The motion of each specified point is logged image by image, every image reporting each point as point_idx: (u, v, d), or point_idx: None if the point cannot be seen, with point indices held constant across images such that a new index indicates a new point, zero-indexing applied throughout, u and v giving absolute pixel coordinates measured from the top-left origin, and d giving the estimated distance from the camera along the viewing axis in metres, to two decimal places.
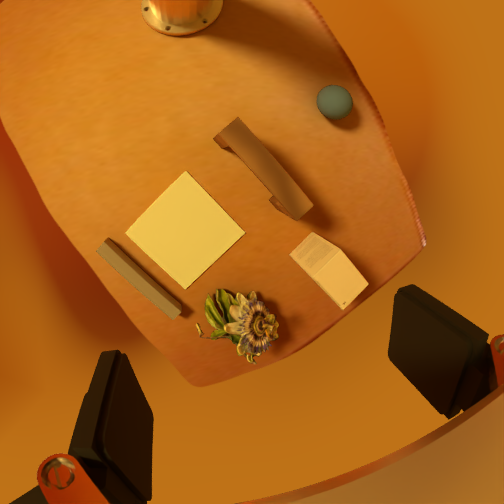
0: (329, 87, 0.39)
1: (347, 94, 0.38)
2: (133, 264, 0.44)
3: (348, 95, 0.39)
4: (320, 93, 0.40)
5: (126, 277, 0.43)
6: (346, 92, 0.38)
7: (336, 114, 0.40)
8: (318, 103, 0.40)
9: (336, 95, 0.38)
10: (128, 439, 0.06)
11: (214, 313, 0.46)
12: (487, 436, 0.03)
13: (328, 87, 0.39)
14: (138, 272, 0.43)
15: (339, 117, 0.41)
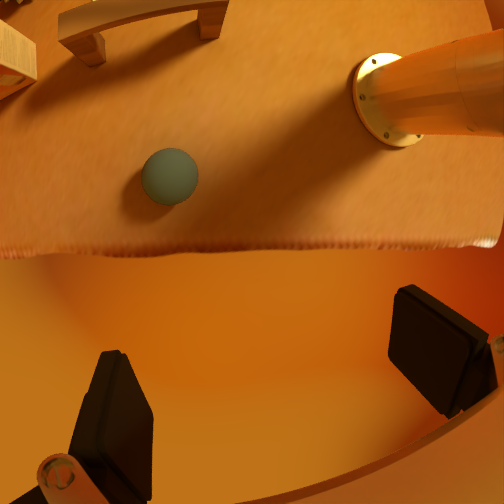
0: (194, 174, 0.27)
1: (171, 193, 0.26)
2: None
3: (169, 194, 0.26)
4: (192, 159, 0.27)
5: None
6: (175, 194, 0.26)
7: (150, 161, 0.26)
8: None
9: (177, 171, 0.25)
10: (128, 439, 0.06)
11: None
12: (487, 436, 0.03)
13: (195, 173, 0.27)
14: None
15: (144, 166, 0.26)
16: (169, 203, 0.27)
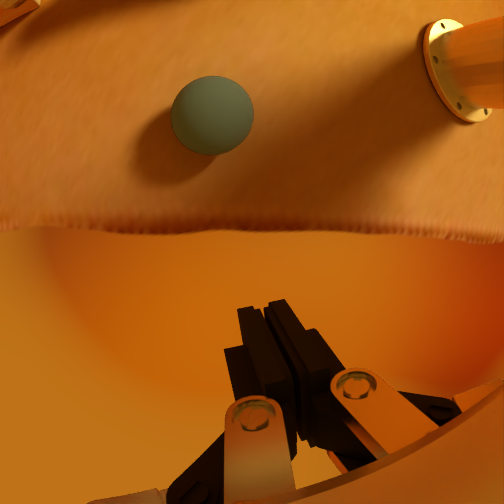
0: (251, 111, 0.18)
1: (219, 132, 0.17)
2: None
3: (215, 133, 0.17)
4: None
5: None
6: (224, 134, 0.17)
7: (187, 87, 0.17)
8: None
9: (230, 101, 0.16)
10: None
11: None
12: (487, 435, 0.03)
13: (252, 111, 0.18)
14: None
15: (177, 96, 0.17)
16: (211, 150, 0.18)
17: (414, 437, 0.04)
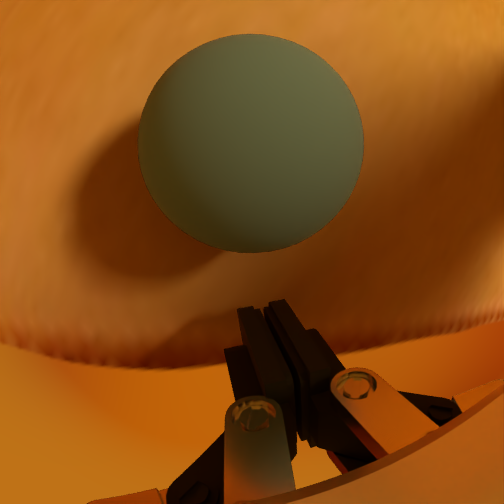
0: (363, 144, 0.06)
1: (288, 211, 0.05)
2: None
3: (277, 215, 0.06)
4: None
5: None
6: (302, 216, 0.06)
7: (187, 59, 0.05)
8: None
9: (329, 110, 0.05)
10: None
11: None
12: (487, 436, 0.03)
13: None
14: None
15: (155, 85, 0.06)
16: (253, 250, 0.07)
17: (414, 436, 0.04)
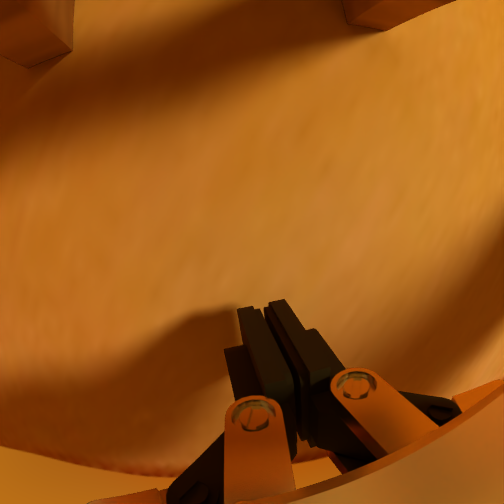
0: None
1: None
2: None
3: None
4: None
5: None
6: None
7: None
8: None
9: None
10: None
11: None
12: (487, 436, 0.03)
13: None
14: None
15: None
16: None
17: (414, 436, 0.04)
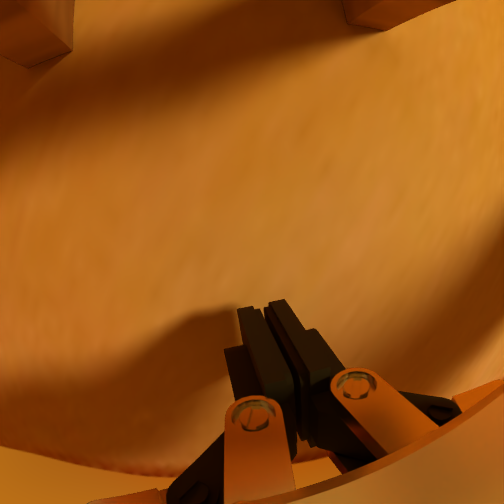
0: None
1: None
2: None
3: None
4: None
5: None
6: None
7: None
8: None
9: None
10: None
11: None
12: (487, 436, 0.03)
13: None
14: None
15: None
16: None
17: (414, 436, 0.04)
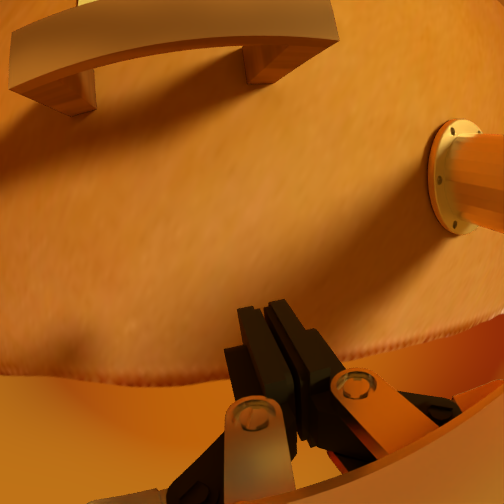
0: None
1: None
2: None
3: None
4: None
5: None
6: None
7: None
8: None
9: None
10: None
11: None
12: (487, 436, 0.03)
13: None
14: None
15: None
16: None
17: (414, 436, 0.04)
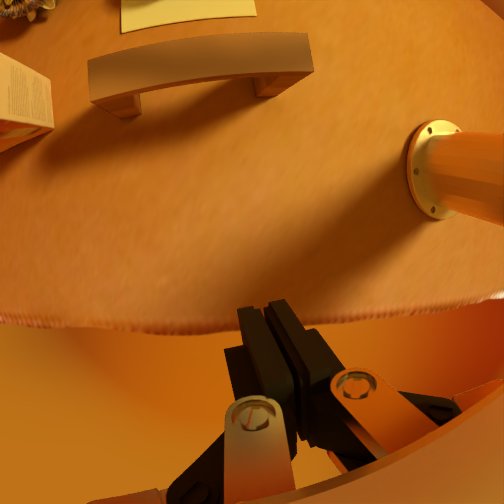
0: None
1: None
2: None
3: None
4: None
5: None
6: None
7: None
8: None
9: None
10: None
11: None
12: (486, 436, 0.03)
13: None
14: None
15: None
16: None
17: (414, 437, 0.04)
